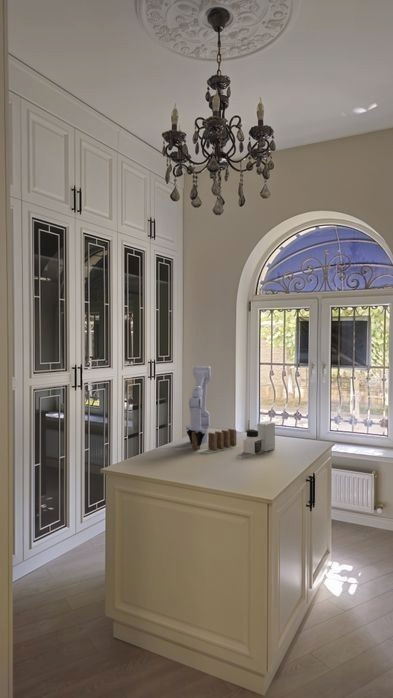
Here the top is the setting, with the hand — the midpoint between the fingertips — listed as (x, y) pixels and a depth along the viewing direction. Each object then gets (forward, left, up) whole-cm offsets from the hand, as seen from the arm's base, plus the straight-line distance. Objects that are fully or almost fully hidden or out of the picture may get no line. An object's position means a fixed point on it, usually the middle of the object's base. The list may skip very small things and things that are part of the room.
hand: (195, 444), depth 250 cm
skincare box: (+26, +28, -3) cm, 38 cm away
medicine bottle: (+25, +18, -3) cm, 31 cm away
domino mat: (+8, +10, -3) cm, 13 cm away
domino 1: (+8, +5, -2) cm, 10 cm away
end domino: (0, 0, -2) cm, 2 cm away
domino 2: (+8, +10, -2) cm, 13 cm away
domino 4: (+8, +20, -2) cm, 22 cm away
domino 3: (+8, +15, -2) cm, 17 cm away
